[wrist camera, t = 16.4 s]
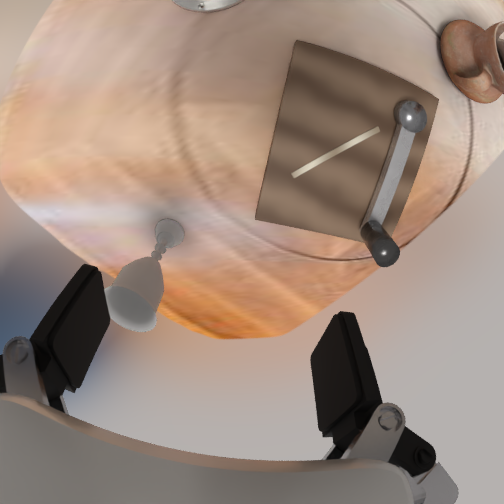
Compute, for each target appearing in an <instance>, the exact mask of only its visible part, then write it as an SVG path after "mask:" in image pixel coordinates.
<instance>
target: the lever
mask: <svg viewBox="0 0 504 504" xmlns="http://www.w3.org/2000/svg"><path fill="white" fill-rule="evenodd" d="M394 117H395V121H396V123H397V126H396V130H395V133H394V136H393V139H392V143H391V146H390V149H389V152H388V155H387V158H386V161H385V164H384V167H383V170H382V173H381V176H380V178H379V181H378V184H377V187H376V189H375V192H374V195H373V197H372V200H371V203H370V205H369V208H368V210H367V213H366V215H365V218H364V220H363V223H362V225H361V228H360V230H359V231H360V235H361V238H362V239H363V241H364V243H365V244H366V246H367V248H368V249H369V251H370V253H371V254H372V256H373V258H374V260H375V261H376V263H377V264H378V265H379V266H381V267H388V266H390V265H393V264H394V263H395V262H396V261H397V259H398V258H399V255H400V250H399V247H398V246H397V245H396V243H395V242H394V241H393V239H392V238H391V237H390V235H389V234H388V233H387V231H386V230H385V229H384V228H383V226H382V223H383V221H384V218H385V216H386V214H387V211H388V209H389V206H390V204H391V201H392V199H393V196H394V194H395V191H396V189H397V186H398V183H399V181H400V178H401V175H402V172H403V170H404V167H405V164H406V161H407V158H408V155H409V152H410V149H411V146H412V143H413V140H414V136H415V133H418V132H420V131H422V130H423V129H424V128H425V126H426V123H427V114H426V111H425V109H424V107H423V106H422V105H421V104H419V103H418V102H415V101H407V100H404V101H401V102H399V103H398V104H397V105H396V107H395V110H394Z"/></svg>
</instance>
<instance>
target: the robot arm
mask: <svg viewBox="0 0 504 504" xmlns="http://www.w3.org/2000/svg"><path fill="white" fill-rule="evenodd" d="M172 1H173V2H174V3H175V4H177V5H178V6H180V7H182V8H184V9H186V10H190V11H194V12H215V11H220V10H224V9H227V8H230V7H232V6H234V5H236V4H239V3H240V2H242V1H243V0H172ZM203 6H204V8H201V7H203ZM109 324H110V314H109V310H108V305H107V301H106V296H105V291H104V286H103V280H102V274H101V272H100V271H98V268H97V267H95V266H91V265H87V264H84V265H82V266H81V268H80V269H79V270H78V271H77V272H76V274H75V275H74V277H73V278H72V279H71V280H70V282H69V283H68V284H67V286H66V287H65V288H64V290H63V291H62V292H61V294H60V295H59V296H58V297H57V299H56V300H55V302H54V303H53V305H52V306H51V307H50V309H49V310H48V312H47V313H46V315H45V316H44V318H43V319H42V321H41V322H40V324H39V325H38V327H37V329H36V330H35V331H34V333H33V335H32V336H31V338H30V339H27V338H26V337H22V336H18V337H14V338H12V339H11V340H9V341H8V342H7V343H6V345H5V347H4V350H3V354H2V355H0V504H454V503H455V502H456V500H457V498H458V488H457V485H456V484H455V483H454V481H453V480H452V479H451V477H450V476H449V475H448V473H447V472H446V471H445V470H444V468H443V467H442V466H441V464H440V463H439V462H438V463H435V461H436V453H435V450H434V448H433V446H431V445H430V444H429V443H428V442H426V441H425V440H424V439H422V438H421V437H419V436H418V435H417V434H415V433H414V432H412V431H411V430H410V429H408V428H407V427H406V426H405V416H404V413H403V411H402V410H401V409H400V408H399V407H398V406H397V405H395V404H393V403H382V398H381V395H380V391H379V387H378V384H377V380H376V376H375V373H374V369H373V366H372V363H371V360H370V356H369V353H368V350H367V348H366V346H365V344H364V341H363V337H362V334H361V331H360V328H359V325H358V322H357V319H356V316H355V314H354V313H350V312H343V311H340V312H339V313H338V314H335V315H334V316H333V318H332V320H331V322H330V323H329V325H328V327H327V329H326V330H325V332H324V334H323V336H322V337H321V339H320V341H319V342H318V344H317V346H316V348H315V349H314V351H313V353H312V355H311V369H312V376H313V385H314V393H315V401H316V410H317V419H318V428H319V430H320V431H321V432H322V434H323V437H333V443H334V444H333V446H332V447H331V448H330V450H329V451H328V452H327V454H326V455H325V456H324V458H323V459H322V460H313V461H265V460H247V459H235V458H226V457H218V456H210V455H203V454H197V453H191V452H186V451H181V450H176V449H171V448H167V447H162V446H158V445H154V444H151V443H147V442H143V441H139V440H136V439H132V438H129V437H126V436H123V435H120V434H116V433H114V432H111V431H108V430H105V429H102V428H100V427H97V426H94V425H92V424H89V423H87V422H84V421H82V420H79V419H77V418H75V417H72V416H70V415H69V414H68V411H67V408H66V405H65V402H64V398H63V392H64V390H65V389H66V390H68V391H71V392H73V393H75V390H76V388H80V386H81V385H82V382H83V380H84V378H85V375H86V373H87V371H88V368H89V366H90V363H91V362H92V360H93V357H94V355H95V353H96V351H97V349H98V347H99V345H100V342H101V340H102V338H103V336H104V334H105V332H106V330H107V328H108V326H109Z"/></svg>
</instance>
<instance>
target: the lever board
mask: <svg viewBox="0 0 504 504" xmlns="http://www.w3.org/2000/svg"><path fill="white" fill-rule="evenodd" d="M404 100H407V101H415V102H418V103H419V104H421V105H422V106H423V107H424V109H425V111H426V114H427V123H426V126H425V128H424V129H423V130H422V131H420V132H418V133H415V136H414V140H413V143H412V146H411V149H410V152H409V155H408V158H407V161H406V164H405V167H404V170H403V172H402V175H401V178H400V181H399V183H398V186H397V189H396V191H395V194H394V196H393V199H392V201H391V204H390V206H389V209H388V211H387V214H386V216H385V218H384V221H383V223H382V226H383V228H384V229H385V230H386V231H387V233H388V234H389V235H390V237H391V236H392V234H393V232H394V230H395V227H396V225H397V223H398V221H399V218H400V216H401V213H402V211H403V209H404V206H405V204H406V201H407V199H408V196H409V194H410V191H411V188H412V186H413V183H414V180H415V178H416V175H417V172H418V169H419V166H420V163H421V160H422V157H423V154H424V151H425V148H426V145H427V142H428V138H429V135H430V132H431V128H432V125H433V121H434V117H435V113H436V109H437V105H438V101H439V99H438V98H436V97H434V96H433V95H431V94H429V93H428V92H426V91H424V90H422V89H421V88H419V87H417V86H415V85H413V84H411V83H409V82H407V81H405V80H403V79H401V78H399V77H397V76H395V75H393V74H391V73H389V72H387V71H385V70H382V69H380V68H378V67H375V66H373V65H371V64H368V63H366V62H363V61H361V60H358V59H356V58H353V57H350V56H347V55H345V54H342V53H339V52H336V51H333V50H330V49H327V48H323V47H320V46H317V45H313V44H310V43H306V42H302V41H298V40H297V41H296V42H295V45H294V49H293V54H292V58H291V62H290V66H289V71H288V75H287V79H286V83H285V88H284V92H283V96H282V100H281V105H280V109H279V113H278V118H277V122H276V126H275V131H274V135H273V139H272V144H271V148H270V152H269V157H268V161H267V165H266V170H265V174H264V179H263V183H262V187H261V192H260V196H259V201H258V205H257V209H256V214H255V220H260V221H265V222H270V223H275V224H280V225H285V226H290V227H295V228H299V229H304V230H309V231H314V232H318V233H323V234H328V235H332V236H337V237H341V238H346V239H350V240H355V241H359V242H363V243H364V241H363V239H362V238H361V235H360V231H359V230H360V228H361V225H362V223H363V220H364V218H365V215H366V213H367V210H368V208H369V205H370V203H371V200H372V197H373V195H374V192H375V189H376V187H377V184H378V181H379V178H380V176H381V173H382V170H383V167H384V164H385V161H386V158H387V155H388V152H389V149H390V146H391V143H392V139H393V136H394V133H395V130H396V126H397V123H396V121H395V117H394V110H395V107H396V105H397V104H398V103H399V102H401V101H404Z"/></svg>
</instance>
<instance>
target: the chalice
mask: <svg viewBox="0 0 504 504" xmlns="http://www.w3.org/2000/svg"><path fill="white" fill-rule="evenodd" d="M155 235H156V241H157V242H158V244H156V245H155V250H156V251H153V252H152V253H151V256H152V257H144V258H141V259H137V260H135V261H133V262H131V263H130V264H128V265H126V266H124V267H123V268H122V270H121V271H120V273H119V274H118V276H117V277H116V279H115V281H114V282H113V284H112V285H111V286H109V287H107V288H105V289H104V291H105V296H106V301H107V305H108V310H109V314H110V318H112V319H113V320H114V321H115V322H116V323H118V324H119V325H121V326H123V327H125V328H127V329H129V330H133V331H137V332H146V331H149V330H152V329H153V328H154V327H155V326H156V321H157V319H156V311H157V308H158V306H159V303H160V301H161V298H162V296H163V292H164V284H163V275H162V270H161V266H160V264H159V262H158V260H161V258H162V255H161V254H163V253H165V252H166V248H172V247H175V246H177V245H179V244H180V243H181V242H182V241H183V239H184V231H183V228H182V227H181V225H180V224H179V223H178V222H176V221H174V220H172V219H164V220H161V221H160V222H158V224H157V225H156V228H155Z"/></svg>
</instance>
